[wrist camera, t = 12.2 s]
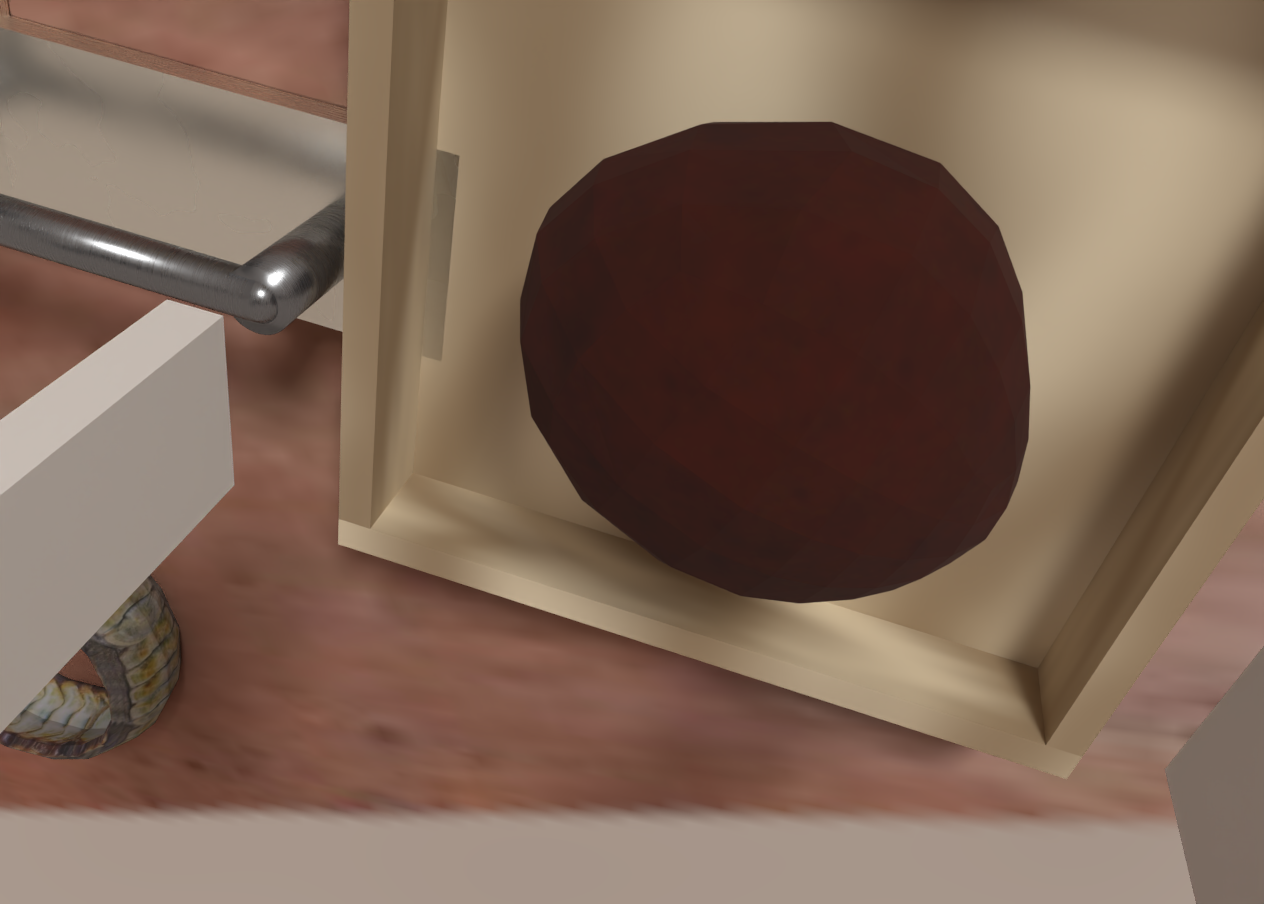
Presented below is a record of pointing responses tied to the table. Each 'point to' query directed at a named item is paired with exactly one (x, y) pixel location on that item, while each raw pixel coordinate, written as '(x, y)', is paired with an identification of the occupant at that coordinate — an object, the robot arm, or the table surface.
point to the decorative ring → (107, 685)
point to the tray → (993, 176)
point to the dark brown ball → (780, 357)
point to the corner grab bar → (176, 178)
